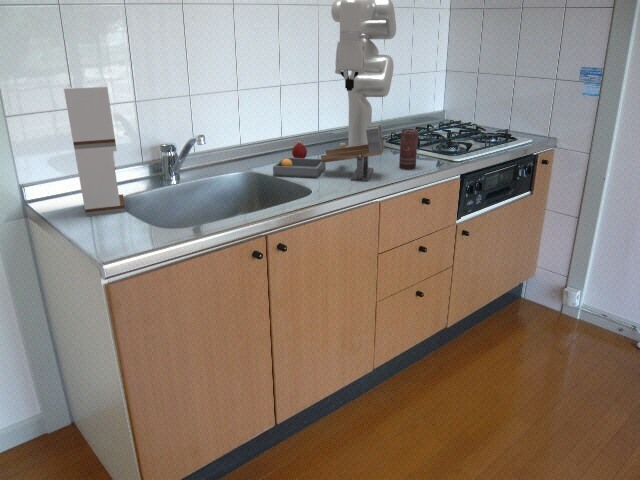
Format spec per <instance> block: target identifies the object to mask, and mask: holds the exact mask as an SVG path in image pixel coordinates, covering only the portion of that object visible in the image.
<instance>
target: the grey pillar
mask: <svg viewBox="0 0 640 480" xmlns="http://www.w3.org/2000/svg"><path fill="white" fill-rule="evenodd" d="M108 89H109V88H108V83H107V82H103V85H102V86H101V85H100V86H93V87H71V85H70V84H65V85H64V88H63V92H64V99H65V104H66V110H67V114H68V120H69V126H70V127H69V128H70V132H71V137H72V144H73V149H74V155H75V161H76V166H77V172H78V177H79V179H78V180H79V182H80V189H81V195H82V201H83V206H84V213H85V216H86V217H93V216H100V215H101V216H102V215H109V214H118V213H126V206H125V199H124V194H119V187H118V181H117V180H118V179H117V175H116V174H117V173H116V169H117V167H116V166H117V165H116V160H115V159H116V158H115V153H114V152H117V144H116V142H117V141H116V136H115V130H114V122H113V116H112V107H111V103H110V95H109V90H108Z"/></svg>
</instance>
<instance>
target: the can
mask: <svg viewBox="0 0 640 480" xmlns="http://www.w3.org/2000/svg"><path fill="white" fill-rule="evenodd" d="M399 140H400V144H399V162H398V163H399V165H398V166H399V168H400V169H401V170H409V171H410V170H415V169H416V167H417V154H418V152H417V151H418V141H419V131H418V130H417V129H413V128H405V129H402V130H401V132H400V139H399Z"/></svg>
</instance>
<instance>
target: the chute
mask: <svg viewBox="0 0 640 480" xmlns="http://www.w3.org/2000/svg"><path fill="white" fill-rule="evenodd" d="M366 134H367V140H368V144H366V145H359V146H352V147H346V146H347V145H346V143H347V142H339V145H338V146H339V148H333V149H326V150H325V154H323V155H322V154H321V155H320V159H321V160H322V163H325V162H326V163H331V162H339V161H344V160H353V159H357V157H358V156H359V155H360V154H362V155H363V157H368V158H369V157H373V156H381V155H383V153H384V151H385V143H384V138H383V131H382V123H376V124H371V125H369V126H368V128H367V129H366Z"/></svg>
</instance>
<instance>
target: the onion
mask: <svg viewBox="0 0 640 480" xmlns="http://www.w3.org/2000/svg"><path fill="white" fill-rule="evenodd" d="M307 150H308V149H307V147H306V146H305V145H304V144H303V143H301V141H299V140H297V143H296V144H295V145H294V146H293V147H292V150H291V154H292V156H293V157H292V158H307V154H308V151H307Z"/></svg>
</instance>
